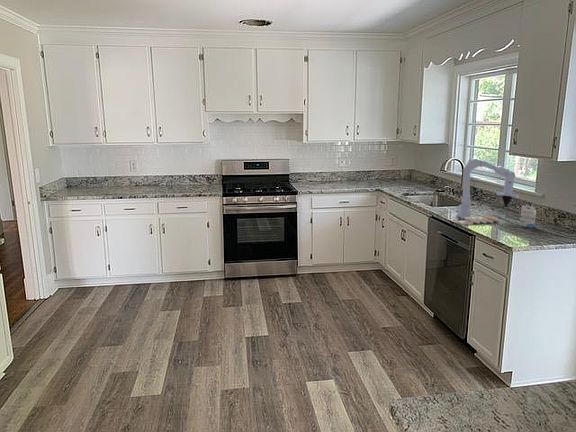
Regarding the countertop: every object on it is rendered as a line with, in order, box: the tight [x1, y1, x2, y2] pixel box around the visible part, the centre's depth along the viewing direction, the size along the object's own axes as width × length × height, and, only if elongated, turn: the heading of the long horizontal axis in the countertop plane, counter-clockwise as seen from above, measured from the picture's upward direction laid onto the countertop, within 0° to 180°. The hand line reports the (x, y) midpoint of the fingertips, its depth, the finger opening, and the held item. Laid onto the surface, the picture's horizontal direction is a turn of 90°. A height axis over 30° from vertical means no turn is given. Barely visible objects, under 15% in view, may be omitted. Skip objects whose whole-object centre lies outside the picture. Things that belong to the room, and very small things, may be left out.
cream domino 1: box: [456, 219, 473, 226], centre depth 296 cm, size 5×2×9 cm
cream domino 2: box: [464, 216, 480, 224], centre depth 297 cm, size 5×2×9 cm
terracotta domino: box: [483, 214, 499, 223], centre depth 301 cm, size 5×2×9 cm
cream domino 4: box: [477, 215, 493, 223], centre depth 299 cm, size 5×2×9 cm
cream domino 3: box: [471, 215, 487, 223], centre depth 298 cm, size 5×2×9 cm
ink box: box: [518, 205, 537, 229], centre depth 290 cm, size 8×5×15 cm, turn 47°
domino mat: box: [472, 218, 510, 226], centre depth 301 cm, size 12×29×1 cm, turn 99°
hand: (505, 206), depth 306 cm, fingers closed
